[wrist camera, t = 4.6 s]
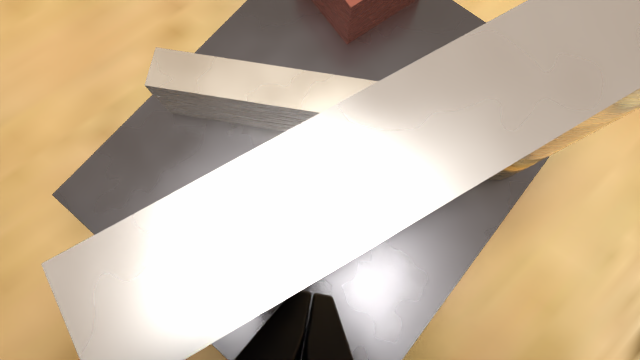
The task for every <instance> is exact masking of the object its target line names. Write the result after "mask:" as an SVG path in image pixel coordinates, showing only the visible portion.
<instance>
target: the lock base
mask: <svg viewBox="0 0 640 360" xmlns="http://www.w3.org/2000/svg"><path fill="white" fill-rule="evenodd" d="M485 23H486V22H484V21H483V20H481V19H480V18H478V17H477V16H475V15H474V14H472V13H471V12H469V11H468V10H466V9H465V8H463V7H462V6H460V5H459V4H457V3H456V2H454V1H453V0H247V1H246V2H245V3H244V4H243V5H242V6H241V7H240V8H239V9H238V10H237V11H236V12H235V13H234V14H233V15H232V16H231V17H230V18H229V19H228V20H227V21H226V22H225V23H224V24H223V25H222V26H221V27H220V28H219V29H218V30H217V31H216V32H215V33H214V34H213V35H212V36H211V37H210V38H209V39H208V40H207V41H206V42H205V43H204V44H203V45H202V46H201V47H200V48H199V49H198V50H197V51H196V52H195V53H189V52H182V51H176V50H169V49H163V48H156V49H155V52H154V56H153V59H152V62H151V66H150V69H149V72H148V76H147V79H146V82H145V86H146V87H147V88H148V89H149V91H150V92H151V93H152V94H153V95H152V96H151V97H150V98H149V99H148V100H147V101H146V102H145V103H144V104H143V105H142V106H141V107H140V108H139V109H138V110H137V111H136V112H135V113H134V114H133V115H132V116H131V117H130V118H129V119H128V120H127V121H126V122H125V123H124V124H123V125H122V126H121V127H120V128H119V129H118V130H117V131H116V132H115V133H114V134H113V135H112V136H111V137H110V138H109V139H108V140H107V141H106V142H105V143H104V144H103V145H102V146H101V147H100V148H99V149H98V150H97V151H96V152H95V153H94V154H93V155H92V156H91V157H90V158H89V159H88V160H87V161H86V162H85V163H84V164H83V165H82V166H81V167H80V168H79V169H78V170H77V171H76V172H75V173H74V174H73V175H72V176H71V177H70V178H68V179H67V180H66V181H65V182H64V183H63V184H62V185H61V186H60V187H59V188H58V189H57V190H56V191H55V192H54V193H53V194H52V195H53V196H54V197H55V198H56V199H57V200H58V201H59V202H60V203H61V204H62V205H63V206H65V207H66V208H67V209H68V210H69V211H70V212H71V213H72V214H73V215H74V216H75V217H76V218H77V219H78V220H79V221H81V222H82V223H83V224H84V225H85V226H86V227H87V228H88V229H89V230H90V231H91V232H92V233H93V234H94V235H96V234H97V233H99V232H101V231H103V230H105V229H107V228H108V227H110V226H112V225H114V224H116V223H118V222H120V221H121V220H123V219H125V218H127V217H129V216H131V215H132V214H134V213H136V212H138V211H140V210H142V209H144V208H145V207H147V206H149V205H151V204H153V203H155V202H156V201H158V200H160V199H162V198H164V197H166V196H168V195H169V194H171V193H173V192H175V191H177V190H179V189H180V188H182V187H184V186H186V185H188V184H190V183H192V182H193V181H195V180H197V179H199V178H201V177H203V176H205V175H206V174H208V173H210V172H212V171H214V170H216V169H217V168H219V167H221V166H223V165H225V164H227V163H229V162H230V161H232V160H234V159H236V158H238V157H240V156H241V155H243V154H245V153H247V152H249V151H251V150H253V149H254V148H256V147H258V146H260V145H262V144H264V143H265V142H267V141H269V140H271V139H273V138H275V137H277V136H278V135H280V134H282V133H284V132H286V131H288V130H289V129H291V128H293V127H295V126H297V125H299V124H301V123H302V122H304V121H306V120H308V119H310V118H312V117H313V116H315V115H317V114H319V113H321V112H323V111H325V110H326V109H328V108H330V107H332V106H334V105H336V104H337V103H339V102H341V101H343V100H345V99H347V98H349V97H350V96H352V95H354V94H356V93H358V92H360V91H361V90H363V89H365V88H367V87H369V86H371V85H373V84H374V83H376V82H378V81H380V80H382V79H384V78H385V77H387V76H389V75H391V74H393V73H395V72H397V71H398V70H400V69H402V68H404V67H406V66H408V65H409V64H411V63H413V62H415V61H417V60H419V59H421V58H422V57H424V56H426V55H428V54H430V53H432V52H434V51H435V50H437V49H439V48H441V47H443V46H445V45H446V44H448V43H450V42H452V41H454V40H456V39H458V38H459V37H461V36H463V35H465V34H467V33H469V32H470V31H472V30H474V29H476V28H478V27H480V26H482V25H483V24H485ZM548 158H549V156H548V157H545V158H542V159H534V160H530V159H520V160H518V161H517V162H515V163H513V164H512V165H510V166H508V167H507V168H505V169H503V170H502V171H500V172H498V173H497V174H495V175H493V176H492V177H490V178H488V179H486V180H485V181H483V182H481V183H480V184H478V185H476V186H475V187H473V188H471V189H470V190H468V191H466V192H465V193H463V194H461V195H460V196H458V197H456V198H455V199H453V200H451V201H450V202H448V203H446V204H445V205H443V206H441V207H440V208H438V209H436V210H435V211H433V212H431V213H430V214H428V215H426V216H424V217H423V218H421V219H419V220H418V221H416V222H414V223H413V224H411V225H409V226H408V227H406V228H404V229H403V230H401V231H399V232H398V233H396V234H394V235H393V236H391V237H389V238H388V239H386V240H384V241H383V242H381V243H379V244H378V245H376V246H374V247H373V248H371V249H369V250H368V251H366V252H364V253H363V254H361V255H359V256H357V257H356V258H354V259H352V260H351V261H349V262H347V263H346V264H344V265H342V266H341V267H339V268H337V269H336V270H334V271H332V272H331V273H329V274H327V275H326V276H324V277H322V278H321V279H319V280H317V281H316V282H314V283H312V284H311V285H309V286H307V287H306V288H304V289H302V290H304V291H309V292H311V294H312V298H313V295H314V294H315V293H320V294H326V295H330V296H332V297H333V299H334V302H335V305H336V308H337V311H338V314H339V317H340V320H341V323H342V326H343V329H344V332H345V335H346V338H347V341H348V344H349V347H350V350H351V353H352V356H353V359H354V360H402V359H403V358H404V356H405V355H406V354H407V352H408V351H409V350H410V348H411V347H412V345H413V344H414V343H415V341H416V340H417V339H418V337H419V336H420V334H421V333H422V332H423V330H424V329H425V327H426V326H427V325H428V323H429V322H430V321H431V319H432V318H433V316H434V315H435V314H436V312H437V311H438V310H439V308H440V307H441V305H442V304H443V303H444V301H445V300H446V298H447V297H448V296H449V294H450V293H451V292H452V290H453V289H454V287H455V286H456V285H457V283H458V282H459V281H460V279H461V278H462V276H463V275H464V274H465V272H466V271H467V269H468V268H469V267H470V265H471V264H472V263H473V261H474V260H475V258H476V257H477V256H478V254H479V253H480V252H481V250H482V249H483V247H484V246H485V245H486V243H487V242H488V241H489V239H490V238H491V236H492V235H493V234H494V232H495V231H496V229H497V228H498V227H499V225H500V224H501V223H502V221H503V220H504V218H505V217H506V216H507V214H508V213H509V212H510V210H511V209H512V207H513V206H514V205H515V203H516V202H517V200H518V199H519V198H520V196H521V195H522V194H523V192H524V191H525V189H526V188H527V187H528V185H529V184H530V183H531V181H532V180H533V178H534V177H535V176H536V174H537V173H538V171H539V170H540V169H541V167H542V166H543V165H544V163H545V162H546V160H547V159H548ZM312 298H311V303H312ZM282 302H283V301H282ZM282 302H280V303H279V304H277V305H275V306H274V307H272V308H270V309H269V310H267V311H265V312H264V313H262V314H260V315H259V316H257V317H255V318H254V319H252V320H250V321H249V322H247V323H245V324H244V325H242V326H240V327H239V328H237V329H235V330H234V331H232V332H230V333H228V334H227V335H225V336H223V337H222V338H220V339H218V340H217V341H215V342H213V343H212V345H213V346H214V347H215V348H216V349H217V350H218V351H219V352H220V353H221V354H223V355H224V356H225V357H226V358H227V359H228V360H234V359H235V358H236V357H237V356H238V354H239V353H240V352H241V351H242V350H243V348H244V347H245V346H246V345H247V344H248V342H249V341H250V340H251V339H252V338H253V337H254V335H255V334H256V333H257V332H258V331H259V329H260V328H261V327H262V326H263V325H264V323H265V322H266V321H267V320H268V319H269V318H270V316H271V315H272V314H273V313H274V312H275V310H276V309H277V308H278V307H279V306H280V304H281V303H282ZM310 309H311V304H310ZM309 314H310V310H309ZM308 319H309V316H308ZM307 325H308V322H307ZM306 330H307V328H306ZM305 335H306V334H305ZM304 342H305V339H304ZM303 348H304V345H303ZM302 354H303V350H302ZM301 360H302V356H301Z"/></svg>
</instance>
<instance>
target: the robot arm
mask: <svg viewBox="0 0 640 360" xmlns="http://www.w3.org/2000/svg"><path fill="white" fill-rule="evenodd" d="M311 298H312V294H311V292H309V291H304V290H301V291H299V292H297V293H295V294H294V295H292V296H290V297H289V298H287V299H285V300H284V301H283V302H282V303H281V304H280V306H279V307H278V308H277V309H276V310H275V312H274V313H273V314H272V315H271V316H270V318H269V319H268V320H267V321H266V322H265V323H264V325H263V326H262V327H261V328H260V329H259V331H258V332H257V333H256V334H255V335H254V337H253V338H252V339H251V340H250V341H249V342H248V344H247V345H246V346H245V347H244V348H243V350H242V351H241V352H240V353H239V354H238V356H237V357H236V358H235V359H234V360H301V356H302V360H354V359H353V356H352V353H351V350H350V347H349V344H348V341H347V338H346V335H345V332H344V329H343V326H342V323H341V320H340V317H339V314H338V311H337V308H336V305H335V302H334V299H333V297H332V296H330V295H326V294H320V293H315V294H314V295H313V298H312V303H311ZM310 304H311V309H310ZM309 310H310V314H309ZM308 316H309V319H308ZM307 322H308V325H307ZM306 328H307V330H306ZM305 334H306V335H305ZM304 339H305V342H304ZM303 345H304V348H303ZM302 350H303V354H302Z"/></svg>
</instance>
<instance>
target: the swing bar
mask: <svg viewBox="0 0 640 360" xmlns="http://www.w3.org/2000/svg"><path fill="white" fill-rule="evenodd" d="M639 108H640V0H528V1H526V2H524V3H522V4H520V5H518V6H517V7H515V8H513V9H511V10H509V11H507V12H506V13H504V14H502V15H500V16H498V17H496V18H494V19H493V20H491V21H489V22H487V23H485V24H483V25H482V26H480V27H478V28H476V29H474V30H472V31H470V32H469V33H467V34H465V35H463V36H461V37H459V38H458V39H456V40H454V41H452V42H450V43H448V44H446V45H445V46H443V47H441V48H439V49H437V50H435V51H434V52H432V53H430V54H428V55H426V56H424V57H422V58H421V59H419V60H417V61H415V62H413V63H411V64H409V65H408V66H406V67H404V68H402V69H400V70H398V71H397V72H395V73H393V74H391V75H389V76H387V77H385V78H384V79H382V80H380V81H378V82H376V83H374V84H373V85H371V86H369V87H367V88H365V89H363V90H361V91H360V92H358V93H356V94H354V95H352V96H350V97H349V98H347V99H345V100H343V101H341V102H339V103H337V104H336V105H334V106H332V107H330V108H328V109H326V110H325V111H323V112H321V113H319V114H317V115H315V116H313V117H312V118H310V119H308V120H306V121H304V122H302V123H301V124H299V125H297V126H295V127H293V128H291V129H289V130H288V131H286V132H284V133H282V134H280V135H278V136H277V137H275V138H273V139H271V140H269V141H267V142H265V143H264V144H262V145H260V146H258V147H256V148H254V149H253V150H251V151H249V152H247V153H245V154H243V155H241V156H240V157H238V158H236V159H234V160H232V161H230V162H229V163H227V164H225V165H223V166H221V167H219V168H217V169H216V170H214V171H212V172H210V173H208V174H206V175H205V176H203V177H201V178H199V179H197V180H195V181H193V182H192V183H190V184H188V185H186V186H184V187H182V188H180V189H179V190H177V191H175V192H173V193H171V194H169V195H168V196H166V197H164V198H162V199H160V200H158V201H156V202H155V203H153V204H151V205H149V206H147V207H145V208H144V209H142V210H140V211H138V212H136V213H134V214H132V215H131V216H129V217H127V218H125V219H123V220H121V221H120V222H118V223H116V224H114V225H112V226H110V227H108V228H107V229H105V230H103V231H101V232H99V233H97V234H96V235H94V236H92V237H90V238H88V239H86V240H84V241H83V242H81V243H79V244H77V245H75V246H73V247H72V248H70V249H68V250H66V251H64V252H62V253H60V254H59V255H57V256H55V257H53V258H51V259H49V260H48V261H46V262H44V263H42V264H41V265H42V267H43V269H44V272H45V274H46V277H47V279H48V282H49V284H50V287H51V289H52V292H53V294H54V297H55V299H56V302H57V304H58V307H59V309H60V311H61V314H62V316H63V319H64V321H65V324H66V326H67V329H68V331H69V334H70V336H71V339H72V341H73V344H74V346H75V349H76V351H77V354H78V356H79V358H80V360H185V359H187V358H188V357H190V356H192V355H193V354H195V353H197V352H198V351H200V350H202V349H203V348H205V347H207V346H208V345H210V344H212V343H213V342H215V341H217V340H218V339H220V338H222V337H223V336H225V335H227V334H228V333H230V332H232V331H234V330H235V329H237V328H239V327H240V326H242V325H244V324H245V323H247V322H249V321H250V320H252V319H254V318H255V317H257V316H259V315H260V314H262V313H264V312H265V311H267V310H269V309H270V308H272V307H274V306H275V305H277V304H279V303H280V302H282V301H284V300H285V299H287V298H289V297H290V296H292V295H294V294H295V293H297V292H299V291H301V290H302V289H304V288H306V287H307V286H309V285H311V284H312V283H314V282H316V281H317V280H319V279H321V278H322V277H324V276H326V275H327V274H329V273H331V272H332V271H334V270H336V269H337V268H339V267H341V266H342V265H344V264H346V263H347V262H349V261H351V260H352V259H354V258H356V257H357V256H359V255H361V254H363V253H364V252H366V251H368V250H369V249H371V248H373V247H374V246H376V245H378V244H379V243H381V242H383V241H384V240H386V239H388V238H389V237H391V236H393V235H394V234H396V233H398V232H399V231H401V230H403V229H404V228H406V227H408V226H409V225H411V224H413V223H414V222H416V221H418V220H419V219H421V218H423V217H424V216H426V215H428V214H430V213H431V212H433V211H435V210H436V209H438V208H440V207H441V206H443V205H445V204H446V203H448V202H450V201H451V200H453V199H455V198H456V197H458V196H460V195H461V194H463V193H465V192H466V191H468V190H470V189H471V188H473V187H475V186H476V185H478V184H480V183H481V182H483V181H485V180H486V179H488V178H490V177H492V176H493V175H495V174H497V173H498V172H500V171H502V170H503V169H505V168H507V167H508V166H510V165H512V164H513V163H515V162H517V161H518V160H520V159H530V160H534V159H542V158H545V157H548V156H550V155H552V154H554V153H556V152H558V151H560V150H562V149H564V148H565V147H567V146H569V145H571V144H573V143H575V142H577V141H579V140H580V139H582V138H584V137H586V136H588V135H590V134H592V133H594V132H596V131H597V130H599V129H601V128H603V127H605V126H607V125H609V124H611V123H612V122H614V121H616V120H618V119H620V118H622V117H624V116H626V115H628V114H629V113H631V112H633V111H635V110H637V109H639Z"/></svg>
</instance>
